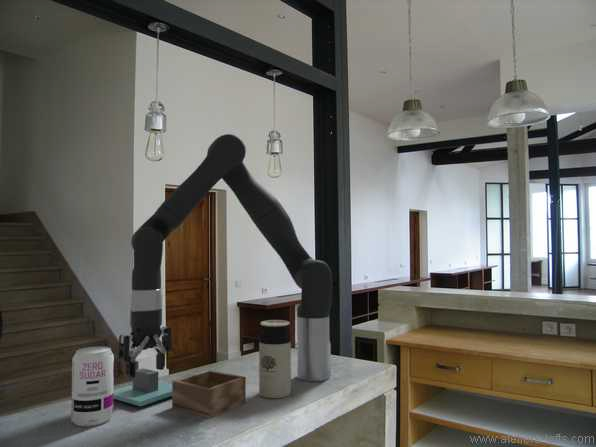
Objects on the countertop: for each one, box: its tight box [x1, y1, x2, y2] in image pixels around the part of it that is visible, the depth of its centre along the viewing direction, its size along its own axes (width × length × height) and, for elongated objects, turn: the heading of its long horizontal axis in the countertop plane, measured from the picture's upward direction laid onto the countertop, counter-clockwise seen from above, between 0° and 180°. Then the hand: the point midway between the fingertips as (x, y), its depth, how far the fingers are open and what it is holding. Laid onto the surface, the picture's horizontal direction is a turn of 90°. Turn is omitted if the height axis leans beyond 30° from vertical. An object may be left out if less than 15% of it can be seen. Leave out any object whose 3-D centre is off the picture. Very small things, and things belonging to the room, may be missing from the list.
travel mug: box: [258, 319, 292, 400], centre depth 119 cm, size 8×8×18 cm
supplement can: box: [70, 346, 115, 427], centre depth 101 cm, size 8×8×15 cm
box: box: [171, 369, 247, 419], centre depth 111 cm, size 12×12×6 cm
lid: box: [113, 367, 172, 407], centre depth 116 cm, size 13×13×7 cm
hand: (146, 373), depth 116 cm, fingers open, 8 cm apart
